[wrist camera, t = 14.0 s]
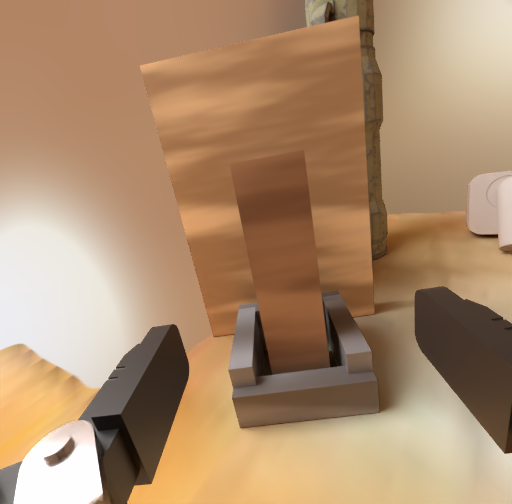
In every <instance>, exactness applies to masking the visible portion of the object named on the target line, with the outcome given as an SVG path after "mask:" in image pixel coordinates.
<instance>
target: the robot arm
mask: <svg viewBox="0 0 512 504" xmlns="http://www.w3.org/2000/svg"><path fill="white" fill-rule="evenodd" d="M415 336H416V340H417V343H418V345H419V348H420V349H421V351H422V352H423V354H424V355H425V356H426V357H427V358H428V360H429V361H430V362H431V363H432V365H433V366H434V367H435V368H436V370H437V371H438V372H439V373H440V374H441V376H442V377H443V378H444V379H445V381H446V382H447V383H448V384H449V386H450V387H451V388H452V389H453V391H454V392H455V393H456V394H457V395H458V397H459V398H460V399H461V400H462V402H463V403H464V404H465V405H466V407H467V408H468V409H469V410H470V411H471V413H472V414H473V415H474V416H475V418H476V419H477V420H478V421H479V423H480V424H481V425H482V426H483V427H484V429H485V430H486V431H487V432H488V434H489V435H490V436H491V437H492V439H493V440H494V441H495V442H496V444H497V445H498V446H499V447H500V448H501V450H502V451H503V452H504V453H505V454H506V453H512V323H510V322H509V321H507V320H503V317H501V316H500V315H498V314H497V313H495V312H494V311H492V310H491V309H489V308H488V307H486V306H483V305H480V304H478V303H475V302H472V301H470V300H467V299H466V300H463V299H462V298H460V297H459V296H458V295H456V294H455V293H453V292H452V291H451V290H449V289H448V288H446V287H443V286H442V287H435V288H428V289H421V290H417V291H416V293H415ZM188 377H189V363H188V359H187V356H186V352H185V349H184V346H183V343H182V340H181V336H180V333H179V330H178V328H177V326H176V325H174V324H172V325H165V326H158V327H152V328H151V329H150V331H149V332H148V333H147V335H146V336H145V338H144V339H143V341H142V342H141V344H137V345H136V346H135V347H134V348H133V349H131V350H130V351H129V352H128V353H127V354H126V355H125V356H124V357H123V358H122V360H121V361H120V363H119V364H118V365H117V367H116V370H114V371H113V372H112V374H111V375H110V376H109V380H107V381H106V382H105V383H104V385H103V386H102V388H101V389H100V390H99V392H98V393H97V395H96V396H95V397H94V399H93V400H92V402H91V403H90V404H89V406H88V407H87V408H86V410H85V411H84V413H83V414H82V415H81V417H80V418H79V420H78V421H73V422H70V423H67V424H65V425H63V426H61V427H59V428H57V429H55V430H54V431H52V432H51V433H49V434H48V435H46V436H45V437H44V438H43V439H42V440H40V441H39V442H38V443H37V444H36V445H35V446H34V447H33V448H32V449H31V450H30V452H29V453H28V454H27V456H26V457H25V459H24V460H23V461H21V462H19V463H16V464H14V465H11V466H8V467H6V468H3V469H1V470H0V504H131V503H130V501H129V497H130V494H131V492H132V489H133V487H134V485H145V484H152V481H153V478H154V475H155V472H156V469H157V467H158V464H159V461H160V458H161V455H162V452H163V449H164V447H165V444H166V441H167V438H168V435H169V432H170V429H171V427H172V424H173V421H174V418H175V415H176V412H177V410H178V407H179V404H180V401H181V398H182V395H183V392H184V390H185V387H186V384H187V381H188Z"/></svg>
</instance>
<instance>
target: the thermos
mask: <svg viewBox="0 0 512 504" xmlns="http://www.w3.org/2000/svg"><path fill="white" fill-rule="evenodd" d="M305 11H306V21H307V27H310V26H314V25H319V24H323V23H327V22H332V21H336V20H340V19H345V18H349V17H353V16H358V15H359V29H360V48H361V66H362V85H363V104H364V122H365V141H366V160H367V178H368V197H369V216H370V234H371V253H372V260H374V259H377V258H380V257H382V256H383V255H385V254H386V252H387V246H386V236H387V234H388V232H387V212H386V208H385V204H384V202H383V200H382V185H381V163H380V162H381V160H380V134H379V129H380V127H381V124H382V121H383V104H382V75H381V73H380V70H379V67H378V64H377V62H376V59H375V48H374V47H373V35H374V13H373V0H306V3H305Z"/></svg>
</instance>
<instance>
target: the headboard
mask: <svg viewBox="0 0 512 504" xmlns="http://www.w3.org/2000/svg"><path fill="white" fill-rule="evenodd" d="M140 68H141V72H142V75H143V79H144V83H145V86H146V90H147V94H148V97H149V101H150V105H151V108H152V112H153V116H154V119H155V123H156V127H157V130H158V134H159V138H160V141H161V145H162V149H163V152H164V156H165V160H166V163H167V167H168V171H169V175H170V178H171V182H172V186H173V189H174V193H175V197H176V200H177V204H178V207H179V211H180V215H181V218H182V222H183V226H184V230H185V233H186V237H187V241H188V244H189V248H190V252H191V255H192V259H193V263H194V266H195V270H196V274H197V277H198V281H199V285H200V288H201V292H202V296H203V299H204V303H205V307H206V310H207V314H208V318H209V321H210V325H211V328H212V332H213V336H214V337H216V336H223V335H230V334H234V340H233V346H232V352H231V358H230V364H229V374H230V378H231V381H232V385H233V395H232V399H233V403H234V407H235V411H236V414H237V418H238V422H239V425H240V428H243V427H252V426H261V425H270V424H279V423H288V422H297V421H306V420H315V419H324V418H333V417H342V416H351V415H359V414H368V413H377V412H379V395H378V380H377V378H376V376H375V374H374V372H373V364H372V351H371V349H370V347H369V345H368V344H367V342H366V340H365V338H364V336H363V335H362V333H361V331H360V329H359V328H358V326H357V324H356V322H355V320H354V319H353V317H358V316H365V315H372V314H375V309H374V290H373V272H372V253H371V234H370V216H369V197H368V178H367V160H366V141H365V122H364V104H363V85H362V66H361V48H360V29H359V15H358V16H353V17H349V18H345V19H340V20H336V21H332V22H327V23H323V24H319V25H314V26H310V27H306V28H301V29H297V30H293V31H288V32H284V33H280V34H275V35H271V36H267V37H263V38H258V39H254V40H249V41H245V42H241V43H236V44H232V45H228V46H223V47H219V48H215V49H210V50H206V51H201V52H197V53H193V54H188V55H184V56H180V57H176V58H171V59H167V60H162V61H158V62H154V63H149V64H145V65H141V66H140ZM300 150H304V153H305V161H306V170H307V178H308V186H309V195H310V203H311V211H312V220H313V228H314V236H315V245H316V253H317V261H318V270H319V278H320V286H321V295H322V303H323V311H324V319H325V328H326V336H327V342H328V341H329V344H330V346H331V349H332V352H333V355H334V358H335V360H336V363H337V366H338V367H330V368H322V369H314V370H306V371H298V372H291V373H283V374H275V375H267V376H263V350H267V346H266V341H265V337H264V332H263V327H262V322H261V317H260V312H259V307H258V302H257V297H256V292H255V288H254V283H253V278H252V273H251V268H250V263H249V258H248V253H247V248H246V243H245V238H244V234H243V229H242V224H241V219H240V214H239V209H238V204H237V199H236V194H235V189H234V185H233V180H232V175H231V170H230V165H229V164H233V163H238V162H243V161H248V160H254V159H259V158H264V157H269V156H274V155H279V154H285V153H290V152H295V151H300Z"/></svg>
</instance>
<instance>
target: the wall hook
mask: <svg viewBox="0 0 512 504" xmlns="http://www.w3.org/2000/svg"><path fill="white" fill-rule="evenodd" d="M466 226H467V228H468V229H469V230H470V231H472V232H474V233H476V234H498V240H499V249H500V250H502V251H512V171H507V172H497V173H487V174H481V175H478V176H476V177H475V178H474V179H472V180H471V181H470V182H469V184H468V188H467V211H466Z"/></svg>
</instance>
